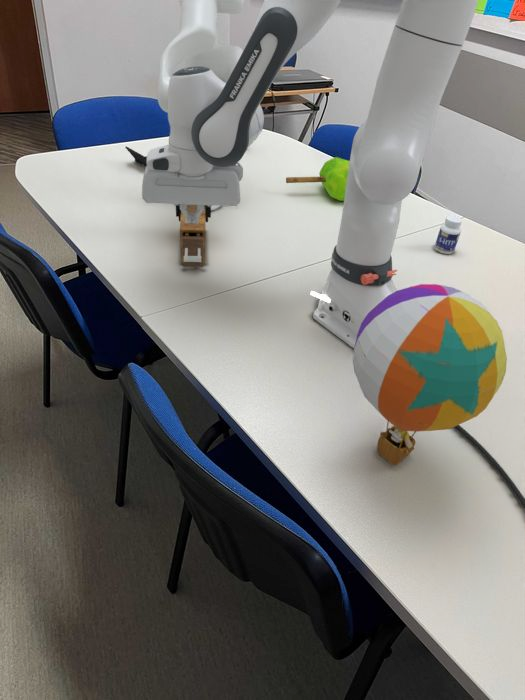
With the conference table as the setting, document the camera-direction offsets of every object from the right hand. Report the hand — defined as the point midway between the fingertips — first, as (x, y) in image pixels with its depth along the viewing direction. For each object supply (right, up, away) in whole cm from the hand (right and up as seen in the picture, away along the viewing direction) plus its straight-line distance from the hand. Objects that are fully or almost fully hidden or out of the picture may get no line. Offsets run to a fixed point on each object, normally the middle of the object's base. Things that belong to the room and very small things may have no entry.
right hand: (192, 222), depth 112 cm
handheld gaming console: (-23, +34, +61) cm, 73 cm away
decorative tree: (+37, +22, +53) cm, 68 cm away
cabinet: (-2, -2, +19) cm, 20 cm away
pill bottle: (+64, -1, +28) cm, 70 cm away
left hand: (-2, +6, +19) cm, 20 cm away
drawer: (-2, -5, +14) cm, 15 cm away
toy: (+36, -44, -30) cm, 64 cm away
